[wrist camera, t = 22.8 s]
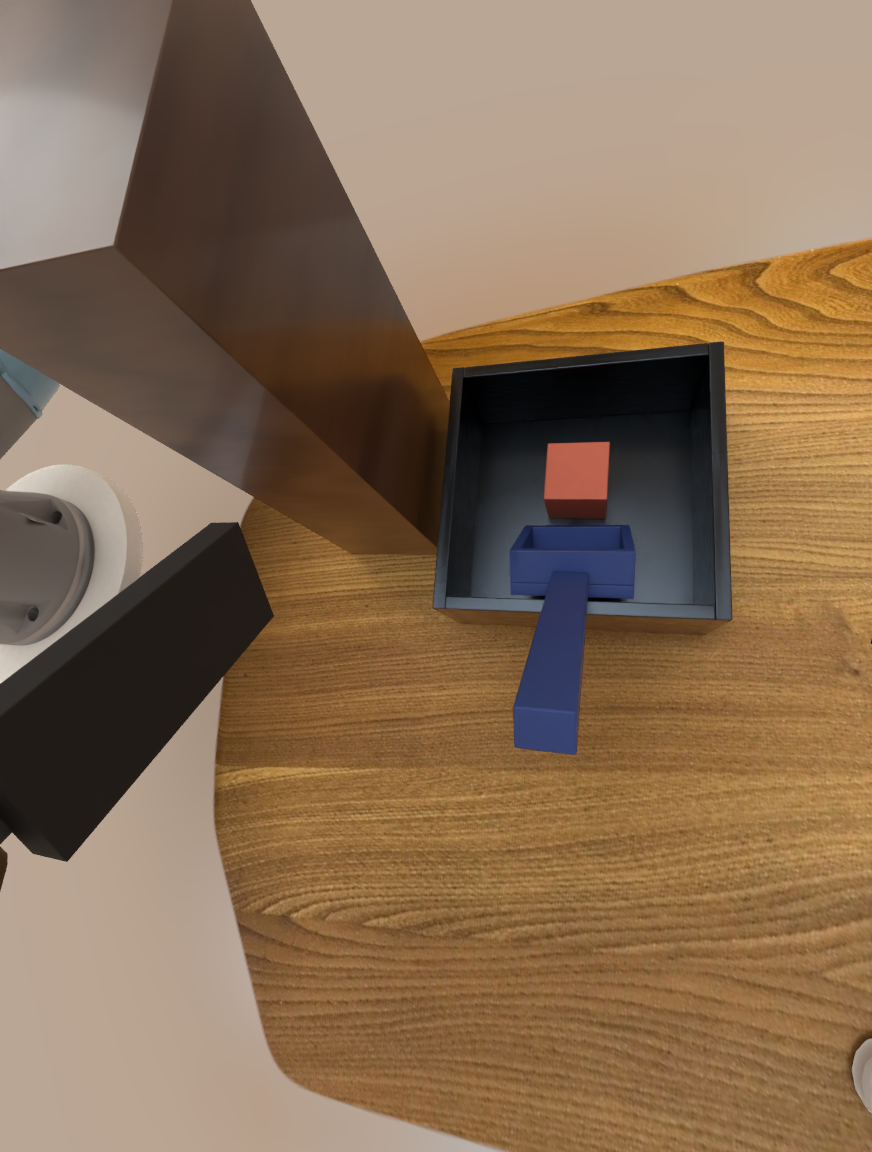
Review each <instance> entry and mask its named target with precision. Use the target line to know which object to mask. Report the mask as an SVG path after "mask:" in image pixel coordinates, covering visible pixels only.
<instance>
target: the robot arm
mask: <svg viewBox="0 0 872 1152" xmlns="http://www.w3.org/2000/svg"><path fill="white" fill-rule="evenodd" d="M59 384H60V383H58V382H56V381H54V380H53V379H51V378H49V377H48V376H46V375H44V374H42V373H41V372H39V371H37V370H36V369H34V368H32V367H30V366H29V365H27V364H25V363H24V362H22V361H20V360H18V359H17V358H15V357H13V356H12V355H10V354H8V353H6V352H5V351H3V350H1V349H0V459H1V458H2V457H3V456H4V455H5V453H6V452H7V451H8V450H9V449H10V448H11V447H12V446H13V445H14V443H15V442H16V441H17V440H18V439H19V438H20V437H21V436H22V435H23V434H24V433H25V431H26V430H27V429H28V428H29V427H30V426H31V425H32V424H33V422H35V420H36V419H38V418H40V417H41V415H42V410H43V409H44V407H45V406H46V404H47V403H48V402H49V400H50V399H51V398H52V396H53V395H54V394H55V392H56V391H57V390H58V388H59ZM94 553H95V548H94V538H93V533H92V529H91V527H90V524H89V522H88V520H87V518H86V517H85V515H84V514H83V512H82V511H81V510H80V509H79V508H78V507H77V506H75V505H74V504H72V503H70V502H68V501H65V500H63V499H60V498H57V497H55V496H52V495H48V494H42V493H34V492H18V491H0V644H6V645H29V644H34V643H36V642H39V641H41V640H43V639H45V638H47V637H49V636H50V635H52V634H53V633H55V632H56V631H57V630H58V629H59V628H61V627H62V626H63V625H64V624H65V623H66V622H67V620H68V619H69V618H70V617H71V616H72V614H73V613H74V612H75V610H76V609H77V607H78V605H79V604H80V602H81V600H82V598H83V596H84V594H85V592H86V590H87V587H88V584H89V581H90V578H91V575H92V570H93V565H94ZM273 616H274V615H273V612H272V610H271V607H270V605H269V602H268V599H267V597H266V594H265V591H264V589H263V586H262V584H261V581H260V578H259V576H258V573H257V571H256V568H255V565H254V563H253V560H252V557H251V555H250V552H249V550H248V547H247V544H246V542H245V539H244V537H243V534H242V531H241V529H240V526H239V523H238V522H237V523H210V524H209V525H208V526H207V527H205V528H204V529H203V530H201V531H200V532H199V533H198V534H196V535H195V536H193V537H192V538H191V539H189V541H187V542H186V543H184V544H183V545H182V546H180V547H179V548H178V549H176V550H175V551H174V552H173V553H171V554H170V555H169V556H167V557H166V558H165V559H163V560H162V561H161V562H159V563H158V564H157V565H155V566H154V567H153V568H151V569H150V570H149V571H147V572H146V573H145V574H144V575H142V576H141V577H140V578H138V579H137V580H136V581H134V582H133V583H132V584H130V585H129V586H128V587H126V588H125V589H124V590H123V591H121V592H120V593H119V594H117V595H116V596H115V597H113V598H112V599H111V600H109V601H108V602H107V603H105V604H104V605H103V606H102V607H100V608H99V609H98V610H96V611H95V612H94V613H92V614H91V615H90V616H88V617H87V618H86V619H85V620H83V621H82V622H81V623H79V624H78V625H77V626H75V627H74V628H73V629H71V630H70V631H69V632H67V633H66V634H65V635H64V636H62V637H61V638H60V639H58V640H57V641H56V642H54V643H53V644H52V645H50V646H49V647H48V648H46V649H45V650H44V651H43V652H41V653H40V654H39V655H37V656H36V657H35V658H33V659H32V660H31V661H29V662H28V663H27V664H25V665H24V666H23V667H22V668H20V669H19V670H18V671H16V672H15V673H14V674H12V675H11V676H10V677H8V678H7V679H6V680H4V681H3V682H2V683H1V684H0V844H1V843H2V842H3V841H4V840H5V839H6V838H7V837H8V836H9V835H10V834H11V833H13V834H14V835H15V836H16V837H17V838H18V839H19V840H20V841H21V842H22V843H23V844H24V845H25V846H26V847H27V848H28V849H29V850H30V851H31V852H32V853H33V854H37V855H41V856H45V857H49V858H54V859H58V860H62V861H66V862H67V861H68V860H69V859H70V858H71V857H72V855H73V854H74V853H75V852H76V851H77V850H78V848H79V847H80V846H81V845H82V843H83V842H84V841H85V840H86V839H87V838H88V836H89V835H90V834H91V833H92V832H93V831H94V829H95V828H96V827H97V826H98V825H99V823H100V822H101V821H102V820H103V819H104V817H105V816H106V815H107V814H108V813H109V811H110V810H111V809H112V808H113V807H114V805H115V804H116V803H117V802H118V801H119V800H120V798H121V797H122V796H123V795H124V794H125V792H126V791H127V790H128V789H129V788H130V786H131V785H132V784H133V783H134V782H135V781H136V779H137V778H138V777H139V776H140V774H141V773H142V772H143V771H144V770H145V769H146V767H147V766H148V765H149V764H150V763H151V762H152V760H153V759H154V758H155V757H156V756H157V754H158V753H159V752H160V751H161V750H162V748H163V747H164V746H165V745H166V744H167V742H168V741H169V740H170V739H171V738H172V737H173V735H174V734H175V733H176V732H177V731H178V729H179V728H180V727H181V725H183V723H184V722H185V721H186V720H187V719H188V717H189V716H190V715H191V714H192V713H193V712H194V710H195V709H196V708H197V707H198V706H199V704H200V703H201V702H202V701H203V700H204V698H205V697H206V696H207V695H208V693H209V692H210V691H211V690H212V689H213V688H214V687H215V685H216V684H217V683H218V682H219V681H220V679H221V678H222V677H223V676H224V675H225V674H226V672H227V671H228V670H229V669H230V668H231V666H232V665H233V664H234V663H235V662H236V660H237V659H238V658H239V657H240V656H241V654H242V653H243V652H244V651H245V650H246V649H247V647H248V646H249V645H250V644H251V643H252V641H253V640H254V639H255V638H256V637H257V635H258V634H259V633H260V632H261V631H262V629H263V628H264V627H265V626H266V625H267V624H268V622H269V621H270V620H271V619H272V618H273ZM871 644H872V640H871ZM6 868H7V853H6V852H5V851H4V850H3V849H2V848H1V847H0V890H1V886H2V883H3V879H4V875H5V872H6Z"/></svg>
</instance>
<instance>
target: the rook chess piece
mask: <svg viewBox="0 0 872 1152" xmlns="http://www.w3.org/2000/svg"><path fill="white" fill-rule="evenodd" d="M852 1073H853V1079H854V1084H855V1089H856V1091H857V1093H858V1094H859V1096H860V1098H861V1100H862V1101H863V1103H864V1105H865V1107H866V1108H867V1110H868V1111H869V1112H870V1113H872V1038H870V1039H867V1040H866V1041H865V1042H864V1043H863V1044H862V1045H861V1046H860V1048H859V1049H858V1050H857V1051H856V1052H855V1057H854V1061H853V1066H852Z"/></svg>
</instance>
